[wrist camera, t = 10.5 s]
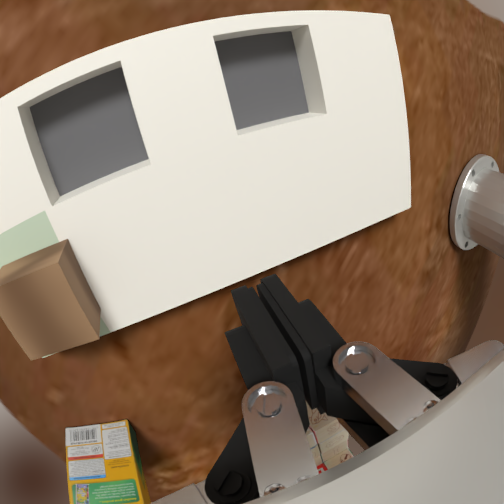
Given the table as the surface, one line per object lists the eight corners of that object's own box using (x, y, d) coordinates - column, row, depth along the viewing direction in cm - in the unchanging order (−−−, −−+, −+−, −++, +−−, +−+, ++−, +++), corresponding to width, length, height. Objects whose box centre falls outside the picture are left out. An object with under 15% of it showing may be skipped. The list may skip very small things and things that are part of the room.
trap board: (367, 19, 18) (389, 14, 16) (391, 198, 26) (410, 207, 24) (-49, 142, 11) (-67, 147, 9) (47, 336, 20) (42, 358, 17)
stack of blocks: (238, 371, 28) (295, 479, 18) (297, 342, 29) (369, 437, 19) (281, 448, 39) (319, 513, 29) (319, 429, 40) (361, 490, 30)
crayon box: (76, 441, 25) (86, 535, 15) (64, 427, 24) (70, 527, 14) (136, 433, 27) (159, 529, 18) (127, 418, 26) (148, 522, 16)
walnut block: (67, 238, 15) (58, 262, 13) (100, 308, 18) (99, 339, 15) (2, 266, 14) (-14, 291, 12) (38, 329, 17) (31, 360, 14)
